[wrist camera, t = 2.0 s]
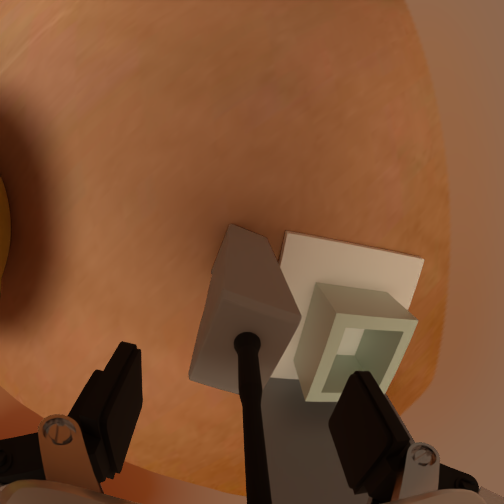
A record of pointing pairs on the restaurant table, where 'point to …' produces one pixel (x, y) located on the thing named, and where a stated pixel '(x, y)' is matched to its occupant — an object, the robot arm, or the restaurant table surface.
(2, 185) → the planter bowl
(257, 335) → the vintage mobile phone
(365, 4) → the restaurant table surface
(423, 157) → the restaurant table surface
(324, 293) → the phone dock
